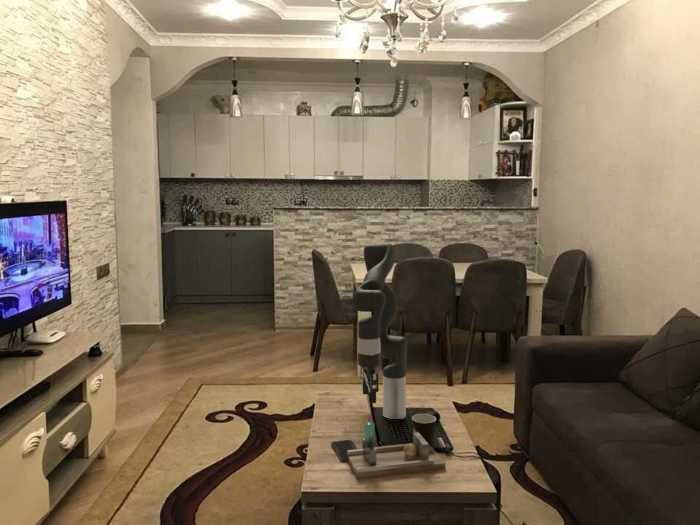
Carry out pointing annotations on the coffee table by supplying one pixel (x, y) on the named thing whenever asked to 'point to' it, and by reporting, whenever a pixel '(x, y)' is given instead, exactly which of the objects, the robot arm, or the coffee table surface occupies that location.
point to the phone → (343, 449)
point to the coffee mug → (424, 426)
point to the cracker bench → (396, 460)
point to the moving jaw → (369, 444)
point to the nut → (410, 450)
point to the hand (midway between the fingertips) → (369, 398)
